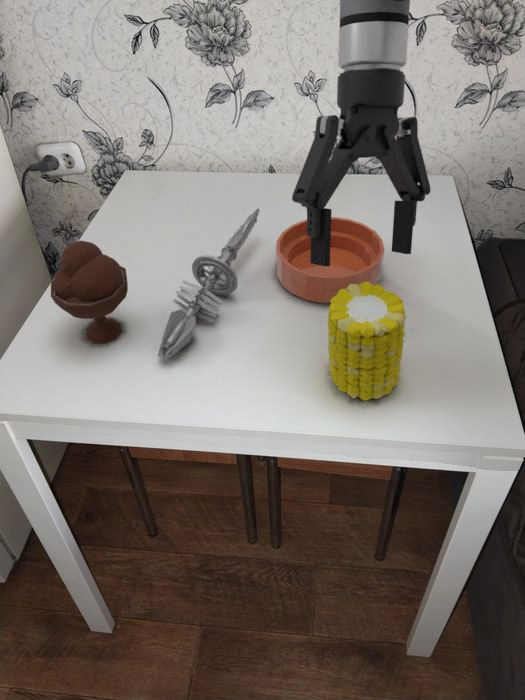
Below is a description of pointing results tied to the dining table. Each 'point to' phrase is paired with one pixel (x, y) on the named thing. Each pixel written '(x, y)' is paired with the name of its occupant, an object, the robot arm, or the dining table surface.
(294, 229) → the terracotta bowl
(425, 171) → the robot arm
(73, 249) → the ice cream bowl
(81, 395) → the dining table surface
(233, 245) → the spaceship
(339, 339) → the food
